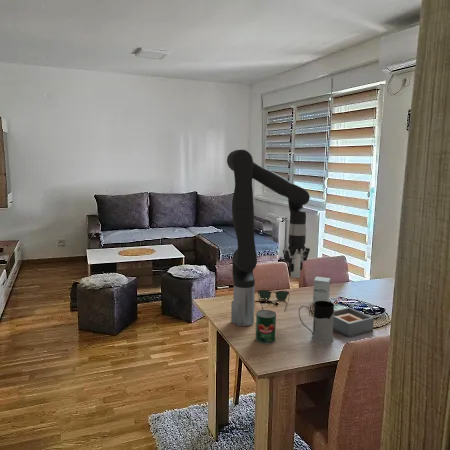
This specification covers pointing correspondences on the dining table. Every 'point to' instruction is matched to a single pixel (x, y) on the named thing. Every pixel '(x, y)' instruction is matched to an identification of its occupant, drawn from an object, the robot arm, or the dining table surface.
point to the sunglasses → (279, 294)
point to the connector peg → (296, 266)
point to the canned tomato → (265, 326)
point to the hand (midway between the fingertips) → (295, 270)
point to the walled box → (352, 322)
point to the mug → (322, 322)
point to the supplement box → (321, 289)
